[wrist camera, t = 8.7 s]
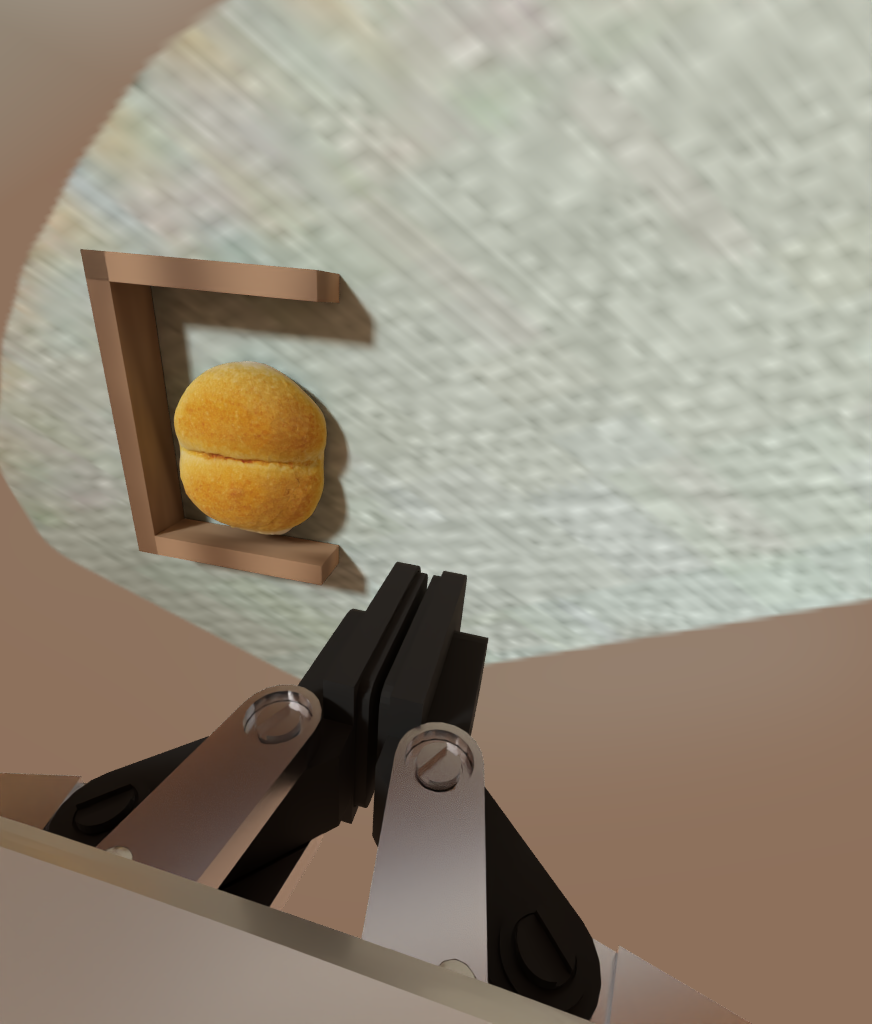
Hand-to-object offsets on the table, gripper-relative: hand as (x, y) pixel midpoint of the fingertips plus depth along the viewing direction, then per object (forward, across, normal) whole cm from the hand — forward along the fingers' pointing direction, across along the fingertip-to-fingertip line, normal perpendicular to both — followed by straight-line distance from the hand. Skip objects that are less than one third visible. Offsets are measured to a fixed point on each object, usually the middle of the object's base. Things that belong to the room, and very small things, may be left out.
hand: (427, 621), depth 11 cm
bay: (+13, +13, 0) cm, 19 cm away
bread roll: (+14, +13, +1) cm, 19 cm away
